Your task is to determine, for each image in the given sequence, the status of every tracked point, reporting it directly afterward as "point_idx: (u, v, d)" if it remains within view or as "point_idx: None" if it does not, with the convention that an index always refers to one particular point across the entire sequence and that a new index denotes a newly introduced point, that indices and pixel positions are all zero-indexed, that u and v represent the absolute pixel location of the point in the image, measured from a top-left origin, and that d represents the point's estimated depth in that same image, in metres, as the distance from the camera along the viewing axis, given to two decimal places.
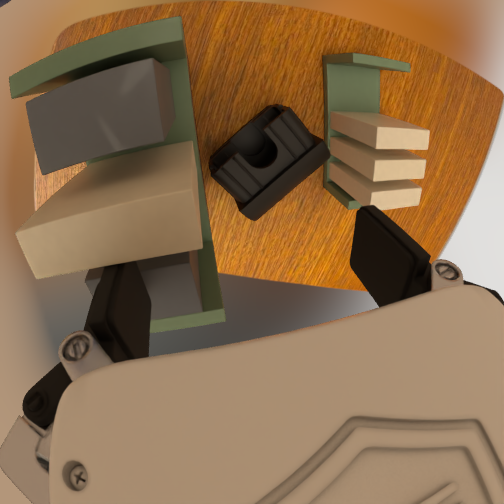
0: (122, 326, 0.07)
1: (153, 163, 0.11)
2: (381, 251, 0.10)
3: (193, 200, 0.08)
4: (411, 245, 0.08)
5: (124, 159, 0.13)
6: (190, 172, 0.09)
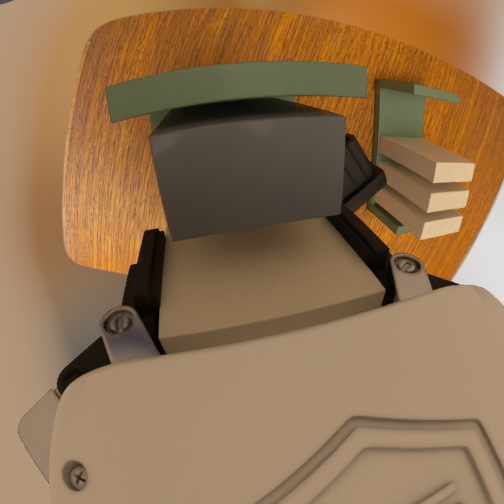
0: None
1: (287, 224, 0.11)
2: None
3: (382, 297, 0.08)
4: (370, 238, 0.09)
5: None
6: (357, 255, 0.09)
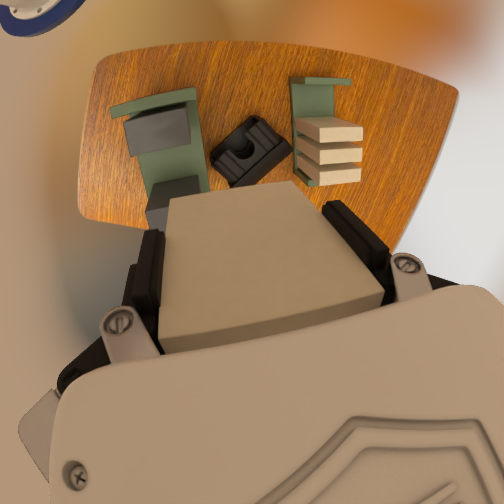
0: None
1: (287, 224, 0.11)
2: None
3: (381, 298, 0.08)
4: (370, 238, 0.09)
5: (227, 203, 0.13)
6: (357, 256, 0.09)
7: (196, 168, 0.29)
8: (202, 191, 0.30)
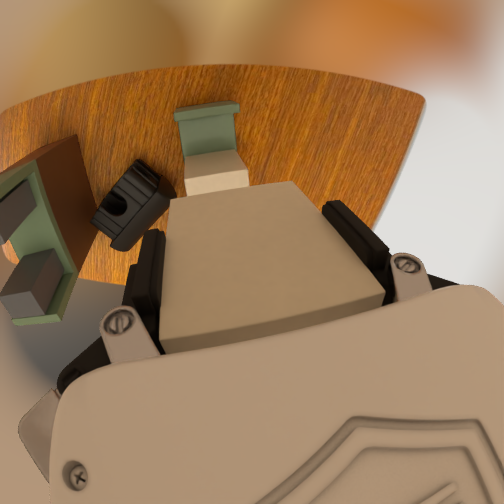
0: None
1: (287, 225, 0.11)
2: None
3: (382, 299, 0.08)
4: (370, 238, 0.09)
5: (228, 204, 0.13)
6: (357, 256, 0.09)
7: (51, 242, 0.24)
8: (62, 262, 0.26)
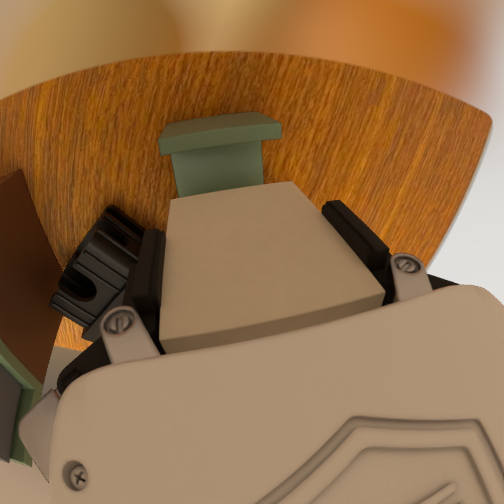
0: None
1: (287, 225, 0.11)
2: None
3: (382, 299, 0.08)
4: (370, 238, 0.09)
5: (228, 204, 0.13)
6: (357, 256, 0.09)
7: None
8: (17, 378, 0.14)
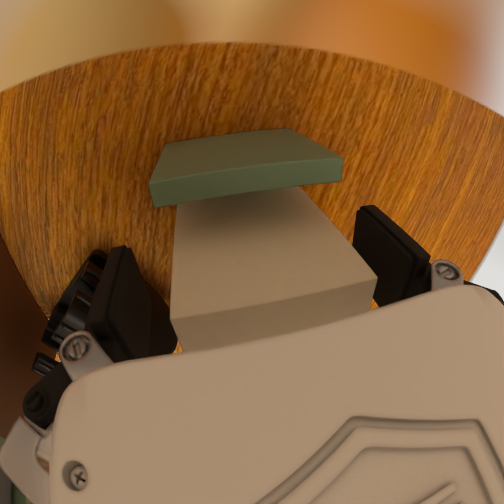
0: (122, 326, 0.07)
1: (288, 219, 0.12)
2: (381, 251, 0.10)
3: (374, 285, 0.09)
4: (411, 245, 0.08)
5: (232, 200, 0.14)
6: (352, 247, 0.10)
7: None
8: None
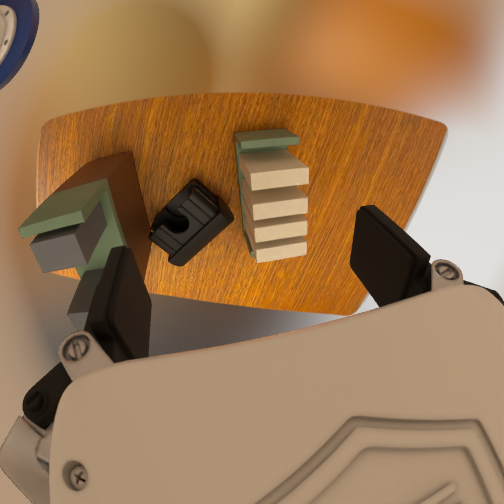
0: (122, 326, 0.07)
1: (282, 158, 0.33)
2: (381, 251, 0.10)
3: (308, 170, 0.30)
4: (411, 245, 0.08)
5: (262, 154, 0.35)
6: None
7: None
8: None
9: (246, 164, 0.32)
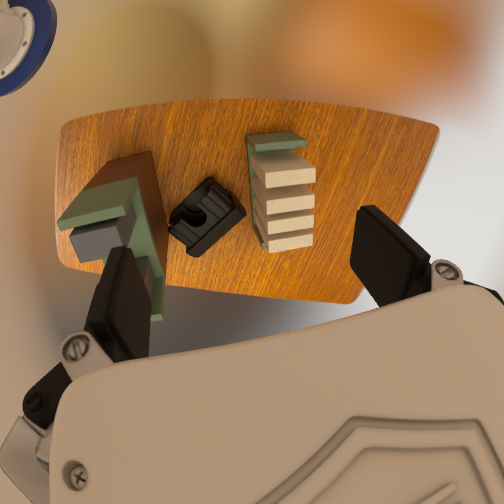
0: (122, 326, 0.07)
1: (291, 159, 0.37)
2: (381, 251, 0.10)
3: (315, 170, 0.34)
4: (411, 245, 0.08)
5: (272, 155, 0.39)
6: (309, 163, 0.35)
7: (146, 250, 0.32)
8: (153, 268, 0.33)
9: (259, 164, 0.36)
